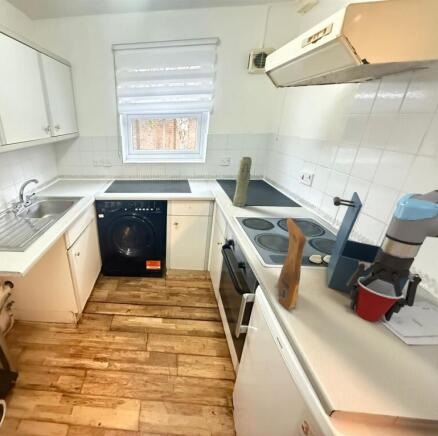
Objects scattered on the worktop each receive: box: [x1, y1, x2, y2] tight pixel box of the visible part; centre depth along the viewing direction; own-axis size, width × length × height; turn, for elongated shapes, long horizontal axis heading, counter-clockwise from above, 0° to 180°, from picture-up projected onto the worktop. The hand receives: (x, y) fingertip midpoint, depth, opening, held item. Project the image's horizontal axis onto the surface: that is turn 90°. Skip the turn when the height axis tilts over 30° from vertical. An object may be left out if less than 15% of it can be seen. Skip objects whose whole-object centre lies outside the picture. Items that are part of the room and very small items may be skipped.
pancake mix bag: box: [277, 216, 308, 312], centre depth 81 cm, size 7×19×28 cm, turn 156°
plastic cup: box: [354, 277, 405, 323], centre depth 76 cm, size 11×11×12 cm
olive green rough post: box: [232, 156, 253, 208], centre depth 171 cm, size 9×12×35 cm
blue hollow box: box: [326, 238, 412, 294], centre depth 90 cm, size 19×18×14 cm
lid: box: [332, 191, 363, 255], centre depth 90 cm, size 19×18×7 cm
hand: (368, 312), depth 77 cm, fingers closed on plastic cup, 8 cm apart
